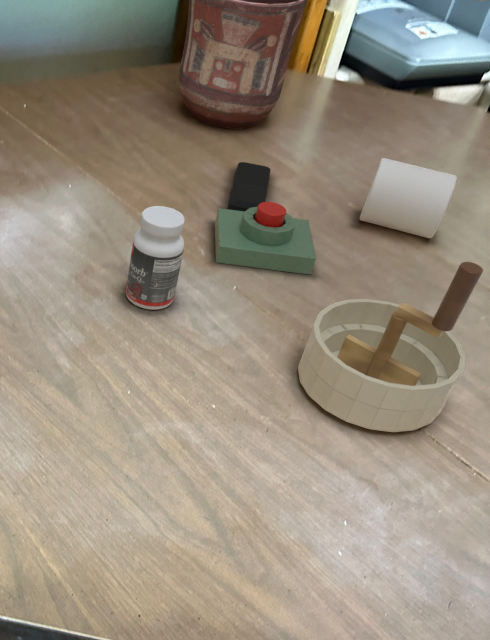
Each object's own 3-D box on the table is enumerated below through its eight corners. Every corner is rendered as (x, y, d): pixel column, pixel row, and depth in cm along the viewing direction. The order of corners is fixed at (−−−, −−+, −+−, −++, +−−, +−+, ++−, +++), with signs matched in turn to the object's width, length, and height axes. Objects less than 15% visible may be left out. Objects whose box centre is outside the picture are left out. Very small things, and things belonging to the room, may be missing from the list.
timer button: (281, 216, 98) (285, 203, 97) (283, 230, 96) (287, 217, 94) (253, 213, 98) (257, 199, 97) (255, 227, 96) (258, 213, 94)
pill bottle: (117, 287, 91) (128, 205, 83) (161, 281, 92) (175, 200, 85) (136, 314, 87) (150, 231, 80) (181, 308, 89) (198, 226, 82)
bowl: (424, 355, 87) (447, 308, 83) (453, 445, 77) (481, 398, 73) (291, 337, 87) (307, 290, 83) (303, 425, 77) (322, 377, 73)
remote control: (235, 172, 115) (225, 214, 105) (238, 160, 114) (229, 201, 103) (268, 178, 115) (261, 221, 104) (271, 166, 113) (265, 208, 103)
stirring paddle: (332, 362, 82) (385, 232, 71) (342, 355, 83) (395, 225, 72) (408, 406, 79) (477, 276, 67) (418, 398, 80) (486, 268, 68)
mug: (428, 249, 104) (455, 190, 98) (355, 229, 105) (377, 170, 99) (435, 211, 111) (461, 155, 105) (367, 194, 113) (388, 137, 107)
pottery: (159, 92, 132) (178, -35, 118) (255, 95, 135) (284, -29, 121) (186, 137, 121) (210, 2, 107) (290, 138, 124) (327, 7, 110)
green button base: (303, 235, 103) (312, 206, 100) (310, 274, 96) (320, 245, 93) (214, 223, 103) (221, 194, 100) (215, 262, 96) (222, 232, 93)
